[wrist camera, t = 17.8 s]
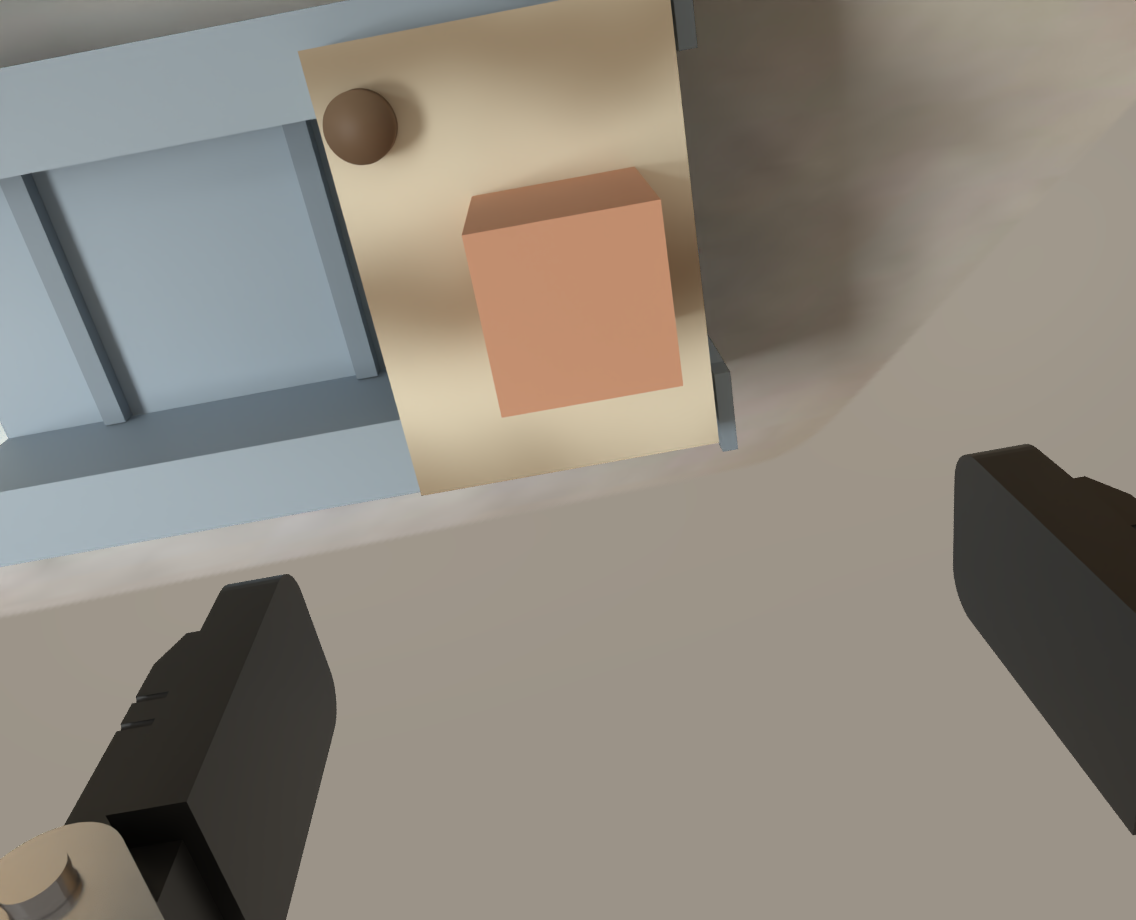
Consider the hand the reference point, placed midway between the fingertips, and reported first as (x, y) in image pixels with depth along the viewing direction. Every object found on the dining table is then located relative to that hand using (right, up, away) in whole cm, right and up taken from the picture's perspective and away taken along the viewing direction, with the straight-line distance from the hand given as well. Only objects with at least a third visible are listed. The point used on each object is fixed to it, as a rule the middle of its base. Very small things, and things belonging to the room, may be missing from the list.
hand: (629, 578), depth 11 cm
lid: (-2, +8, +16) cm, 18 cm away
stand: (-10, +9, +23) cm, 27 cm away
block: (-1, +7, +15) cm, 16 cm away
